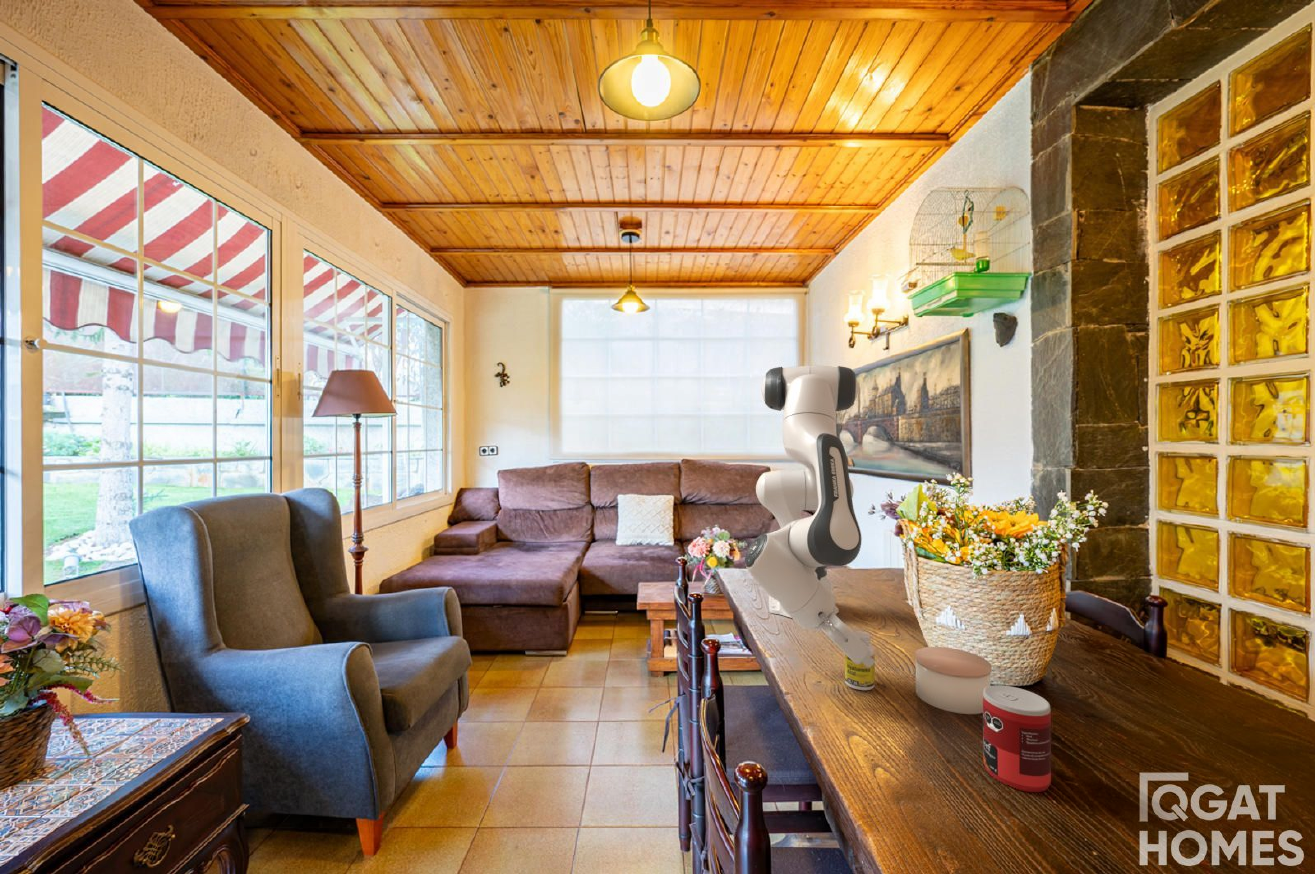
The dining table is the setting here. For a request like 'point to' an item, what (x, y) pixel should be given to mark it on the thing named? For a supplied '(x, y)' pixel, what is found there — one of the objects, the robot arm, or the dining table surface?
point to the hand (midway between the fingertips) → (862, 656)
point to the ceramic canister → (951, 679)
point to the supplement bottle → (860, 667)
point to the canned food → (1017, 737)
